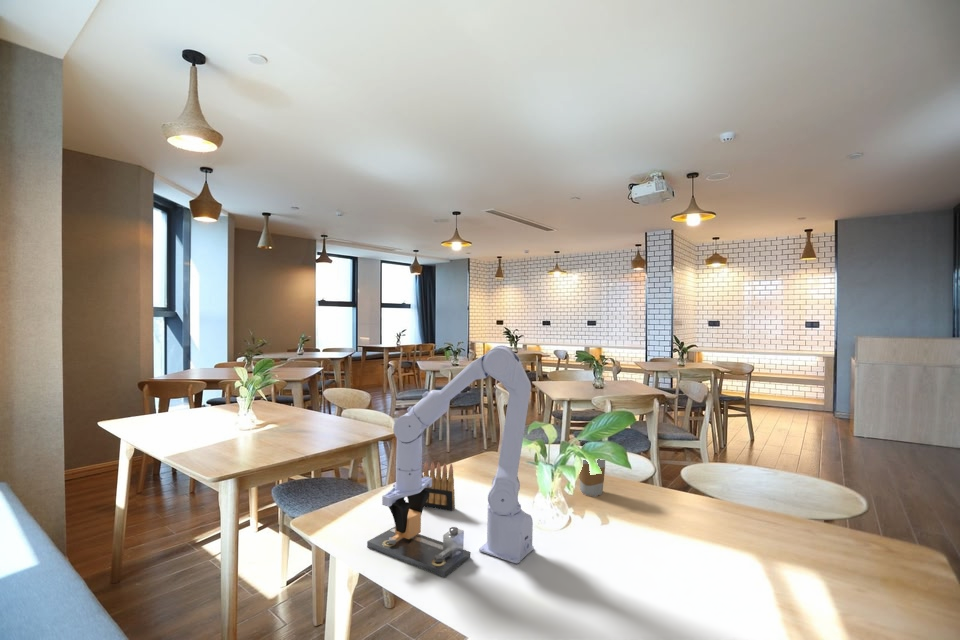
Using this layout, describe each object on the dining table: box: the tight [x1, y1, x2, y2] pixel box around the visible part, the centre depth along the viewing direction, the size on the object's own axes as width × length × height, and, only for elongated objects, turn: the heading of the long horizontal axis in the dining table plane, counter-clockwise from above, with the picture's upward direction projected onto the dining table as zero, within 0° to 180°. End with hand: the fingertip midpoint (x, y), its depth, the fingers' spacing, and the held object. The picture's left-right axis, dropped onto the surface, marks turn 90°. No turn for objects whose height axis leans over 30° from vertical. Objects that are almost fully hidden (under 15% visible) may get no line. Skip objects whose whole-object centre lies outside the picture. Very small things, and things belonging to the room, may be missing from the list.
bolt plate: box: [366, 526, 471, 579], centre depth 98 cm, size 21×9×6 cm, turn 58°
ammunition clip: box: [422, 460, 456, 512], centre depth 121 cm, size 11×2×12 cm, turn 73°
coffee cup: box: [578, 441, 606, 497], centre depth 133 cm, size 8×8×15 cm
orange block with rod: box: [389, 509, 422, 544], centre depth 101 cm, size 4×8×4 cm, turn 147°
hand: (407, 527), depth 103 cm, fingers closed on orange block with rod, 4 cm apart
